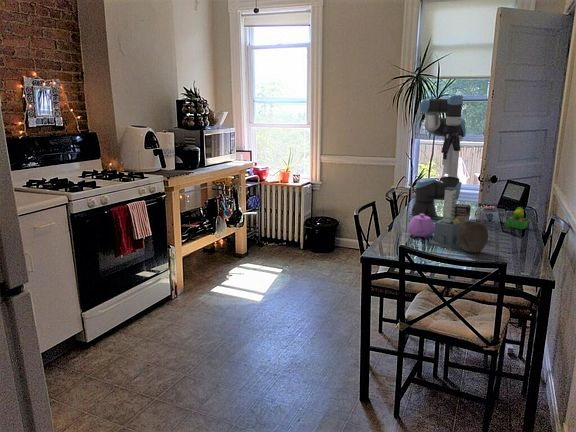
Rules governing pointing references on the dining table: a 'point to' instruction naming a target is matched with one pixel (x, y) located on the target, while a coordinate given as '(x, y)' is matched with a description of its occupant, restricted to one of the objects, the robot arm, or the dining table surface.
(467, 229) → the brown round ball
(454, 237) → the stand base
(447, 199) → the column
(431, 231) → the teapot
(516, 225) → the fruit basket
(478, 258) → the dining table surface
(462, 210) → the coffee box
